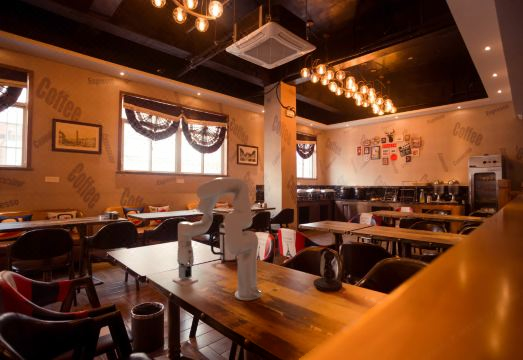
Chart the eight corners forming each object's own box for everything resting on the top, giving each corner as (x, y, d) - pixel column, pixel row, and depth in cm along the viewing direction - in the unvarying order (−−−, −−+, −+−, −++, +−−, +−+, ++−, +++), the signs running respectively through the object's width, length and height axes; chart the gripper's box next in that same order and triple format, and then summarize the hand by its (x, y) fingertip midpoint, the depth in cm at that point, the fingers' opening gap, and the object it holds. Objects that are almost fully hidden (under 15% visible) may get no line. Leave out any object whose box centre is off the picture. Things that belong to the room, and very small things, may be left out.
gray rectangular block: (191, 277, 161) (191, 265, 161) (183, 279, 157) (183, 268, 157) (186, 275, 164) (186, 264, 165) (178, 277, 161) (178, 266, 161)
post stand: (198, 281, 160) (197, 270, 160) (184, 285, 153) (184, 274, 154) (186, 276, 168) (186, 266, 168) (172, 280, 161) (172, 270, 161)
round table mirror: (310, 282, 155) (310, 246, 155) (336, 281, 156) (336, 245, 156) (317, 293, 141) (317, 253, 141) (346, 292, 142) (345, 252, 142)
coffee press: (225, 256, 213) (225, 216, 213) (243, 259, 205) (242, 218, 205) (210, 262, 198) (209, 219, 198) (228, 265, 190) (227, 221, 190)
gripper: (199, 244, 158) (199, 276, 158) (182, 240, 169) (182, 270, 169) (187, 246, 152) (188, 280, 152) (171, 242, 164) (171, 274, 164)
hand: (185, 275), depth 161 cm, fingers closed on gray rectangular block, 5 cm apart
